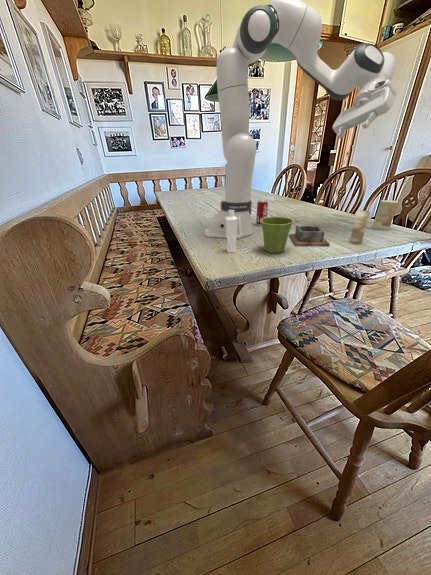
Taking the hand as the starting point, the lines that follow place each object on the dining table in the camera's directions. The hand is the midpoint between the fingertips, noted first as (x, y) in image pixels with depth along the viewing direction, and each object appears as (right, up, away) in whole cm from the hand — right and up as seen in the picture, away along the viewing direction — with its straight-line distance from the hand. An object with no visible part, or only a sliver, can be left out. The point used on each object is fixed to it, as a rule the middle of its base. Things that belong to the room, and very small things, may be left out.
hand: (352, 132), depth 88 cm
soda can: (-26, -24, +37) cm, 51 cm away
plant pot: (-27, -42, +5) cm, 50 cm away
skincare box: (+27, -29, +25) cm, 47 cm away
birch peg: (+7, -38, +10) cm, 40 cm away
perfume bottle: (-43, -42, +5) cm, 60 cm away
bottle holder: (-11, -37, +13) cm, 40 cm away
